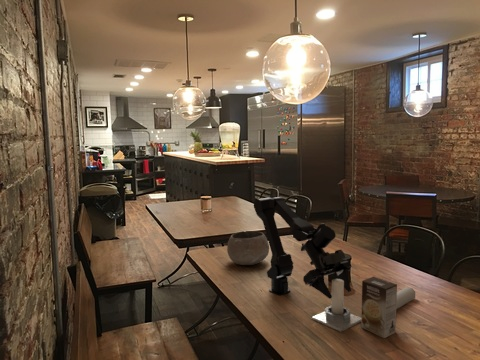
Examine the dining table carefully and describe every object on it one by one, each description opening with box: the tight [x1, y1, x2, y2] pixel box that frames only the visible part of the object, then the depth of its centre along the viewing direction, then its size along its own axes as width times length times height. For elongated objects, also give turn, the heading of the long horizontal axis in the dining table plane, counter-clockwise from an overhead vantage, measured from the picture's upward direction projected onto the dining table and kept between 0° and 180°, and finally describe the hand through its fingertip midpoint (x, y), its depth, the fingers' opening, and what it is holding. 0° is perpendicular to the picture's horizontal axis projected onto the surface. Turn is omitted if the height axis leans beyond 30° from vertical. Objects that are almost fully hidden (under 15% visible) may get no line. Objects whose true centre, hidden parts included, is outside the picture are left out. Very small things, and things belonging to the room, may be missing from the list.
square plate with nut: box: [311, 305, 362, 333], centre depth 135 cm, size 12×12×3 cm
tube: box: [396, 286, 416, 310], centre depth 144 cm, size 5×5×25 cm
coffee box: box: [360, 275, 398, 339], centre depth 127 cm, size 9×6×16 cm
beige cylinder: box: [330, 278, 345, 315], centre depth 134 cm, size 4×4×13 cm
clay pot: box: [226, 230, 270, 266], centre depth 197 cm, size 21×21×15 cm
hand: (340, 294), depth 133 cm, fingers open, 9 cm apart
